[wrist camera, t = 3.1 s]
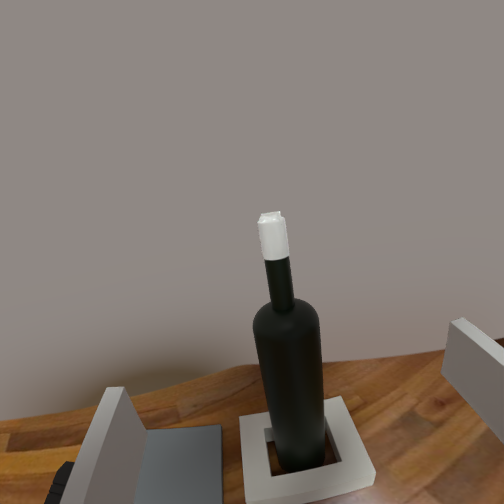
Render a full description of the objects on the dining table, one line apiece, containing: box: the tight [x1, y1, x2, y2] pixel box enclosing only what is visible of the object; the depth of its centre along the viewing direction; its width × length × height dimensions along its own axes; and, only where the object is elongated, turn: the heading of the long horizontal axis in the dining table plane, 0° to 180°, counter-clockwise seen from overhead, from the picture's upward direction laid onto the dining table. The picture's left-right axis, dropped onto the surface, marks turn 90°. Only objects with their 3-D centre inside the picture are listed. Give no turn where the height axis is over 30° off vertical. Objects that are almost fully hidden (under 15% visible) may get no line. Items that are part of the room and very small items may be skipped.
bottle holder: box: [239, 396, 376, 504], centre depth 32 cm, size 14×14×3 cm
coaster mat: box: [133, 424, 223, 504], centre depth 32 cm, size 20×16×1 cm
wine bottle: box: [253, 211, 325, 474], centre depth 28 cm, size 6×6×30 cm
